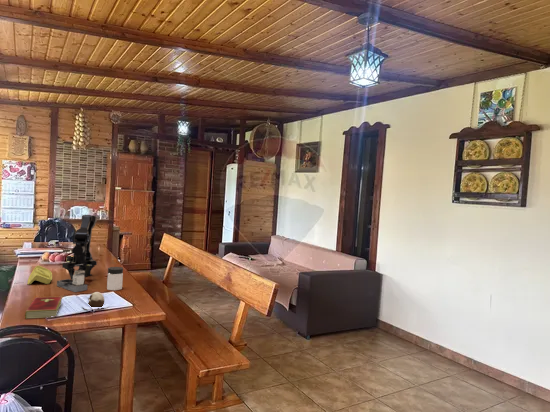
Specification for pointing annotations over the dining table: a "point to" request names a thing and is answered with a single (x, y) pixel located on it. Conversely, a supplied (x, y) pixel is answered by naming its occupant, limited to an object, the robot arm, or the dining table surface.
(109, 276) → the jar
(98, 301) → the skull
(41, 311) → the hardcover book
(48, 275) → the plastic component
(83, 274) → the beige rectangular block
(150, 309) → the dining table surface
